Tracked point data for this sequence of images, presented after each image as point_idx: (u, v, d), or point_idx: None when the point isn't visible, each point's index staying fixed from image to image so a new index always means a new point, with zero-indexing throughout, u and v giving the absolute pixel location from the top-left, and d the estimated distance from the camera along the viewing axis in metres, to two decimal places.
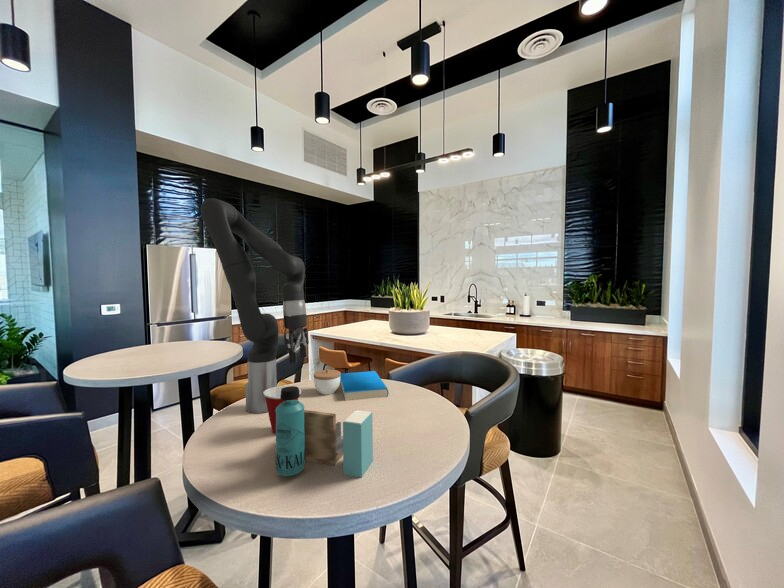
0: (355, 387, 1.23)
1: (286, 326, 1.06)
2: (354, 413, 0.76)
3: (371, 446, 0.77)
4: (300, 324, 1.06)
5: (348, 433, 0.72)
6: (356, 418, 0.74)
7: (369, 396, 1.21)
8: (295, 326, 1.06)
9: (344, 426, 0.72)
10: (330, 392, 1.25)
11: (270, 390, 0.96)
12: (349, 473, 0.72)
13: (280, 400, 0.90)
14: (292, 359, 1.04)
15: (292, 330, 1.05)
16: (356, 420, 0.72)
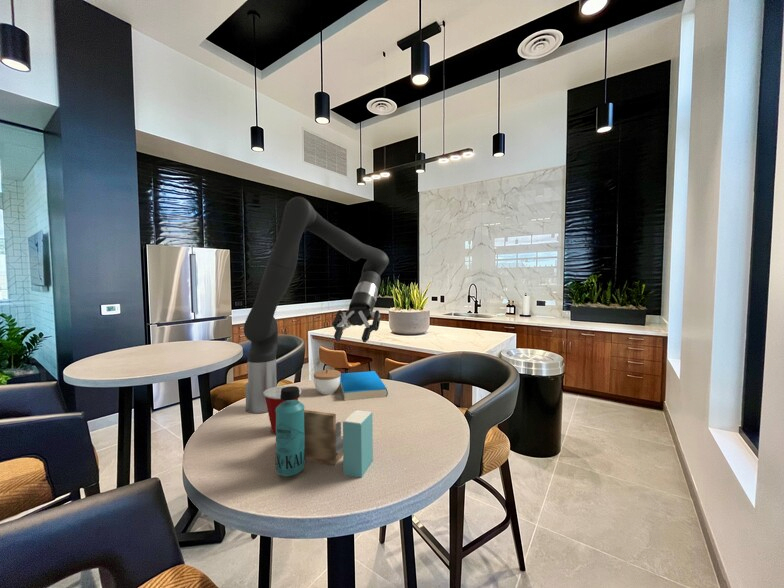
0: (354, 387, 1.23)
1: (369, 304, 0.98)
2: (354, 413, 0.76)
3: (371, 446, 0.77)
4: None
5: (348, 433, 0.72)
6: (356, 418, 0.74)
7: (368, 396, 1.21)
8: (372, 311, 1.00)
9: (344, 426, 0.72)
10: (330, 392, 1.25)
11: (270, 390, 0.96)
12: (349, 473, 0.72)
13: (280, 400, 0.90)
14: (368, 336, 0.92)
15: (371, 312, 0.98)
16: (356, 420, 0.72)
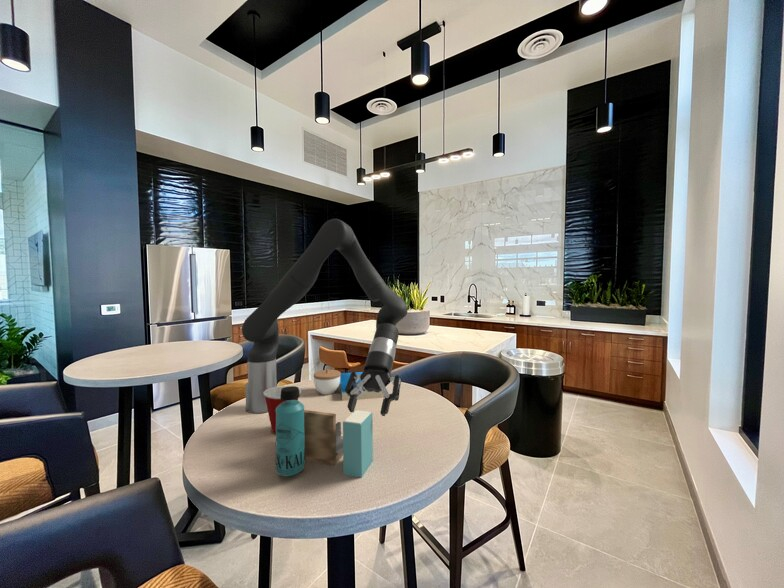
0: None
1: (387, 366, 0.85)
2: (354, 413, 0.76)
3: (371, 446, 0.77)
4: None
5: (348, 433, 0.72)
6: (356, 418, 0.74)
7: (366, 396, 1.20)
8: None
9: (344, 426, 0.72)
10: (330, 392, 1.25)
11: (270, 390, 0.96)
12: (349, 473, 0.72)
13: (280, 400, 0.90)
14: (388, 409, 0.79)
15: None
16: (356, 420, 0.72)
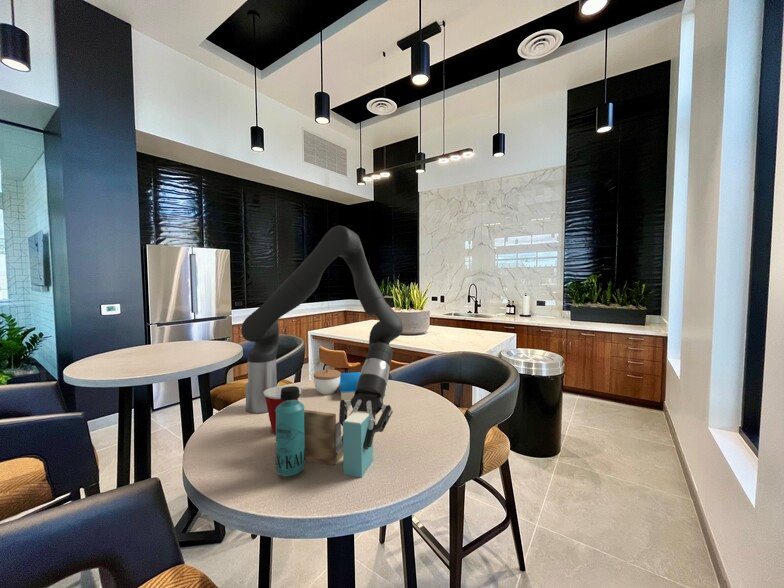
0: (352, 387, 1.23)
1: (379, 391, 0.79)
2: (354, 413, 0.76)
3: (371, 446, 0.77)
4: None
5: (348, 433, 0.72)
6: (356, 418, 0.74)
7: None
8: (383, 397, 0.82)
9: (344, 426, 0.72)
10: (330, 392, 1.25)
11: (270, 390, 0.96)
12: (349, 473, 0.72)
13: (280, 400, 0.90)
14: (371, 442, 0.73)
15: (382, 400, 0.80)
16: (356, 420, 0.72)
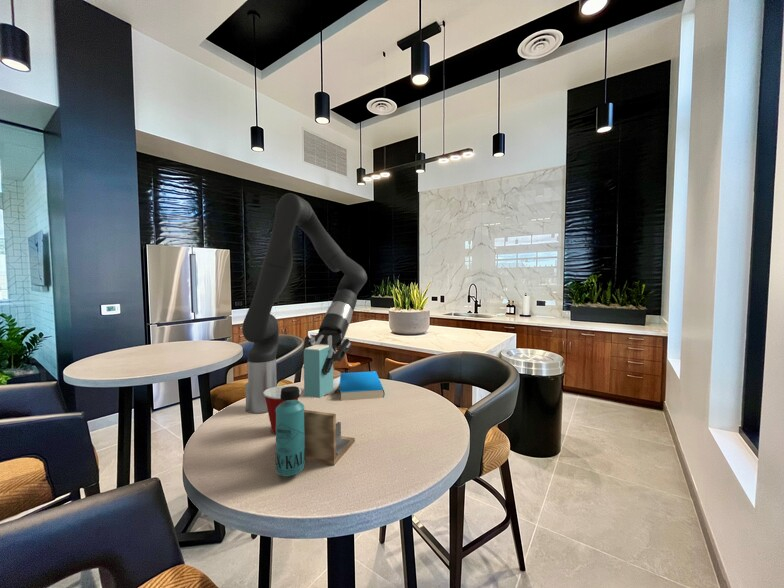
0: (351, 387, 1.23)
1: (340, 327, 0.88)
2: (316, 345, 0.85)
3: (331, 375, 0.86)
4: None
5: (308, 359, 0.80)
6: (316, 347, 0.82)
7: (365, 396, 1.20)
8: (344, 335, 0.90)
9: (305, 353, 0.81)
10: (330, 392, 1.25)
11: (270, 390, 0.96)
12: (309, 395, 0.81)
13: (280, 400, 0.90)
14: (329, 368, 0.82)
15: (343, 336, 0.89)
16: (316, 348, 0.81)
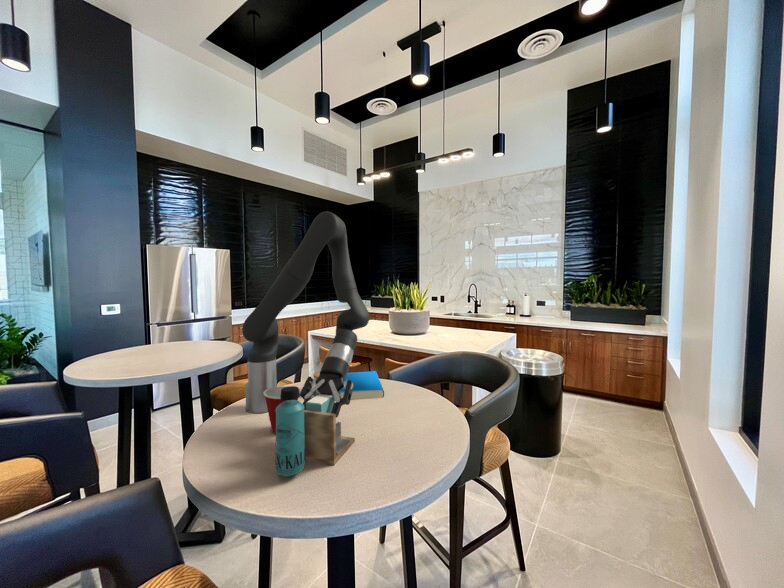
0: None
1: (341, 371, 0.89)
2: (318, 396, 0.86)
3: None
4: None
5: None
6: (318, 399, 0.83)
7: (364, 396, 1.20)
8: (345, 378, 0.91)
9: (307, 406, 0.81)
10: None
11: (270, 390, 0.96)
12: None
13: (280, 400, 0.90)
14: (338, 413, 0.82)
15: (344, 380, 0.89)
16: (318, 401, 0.82)
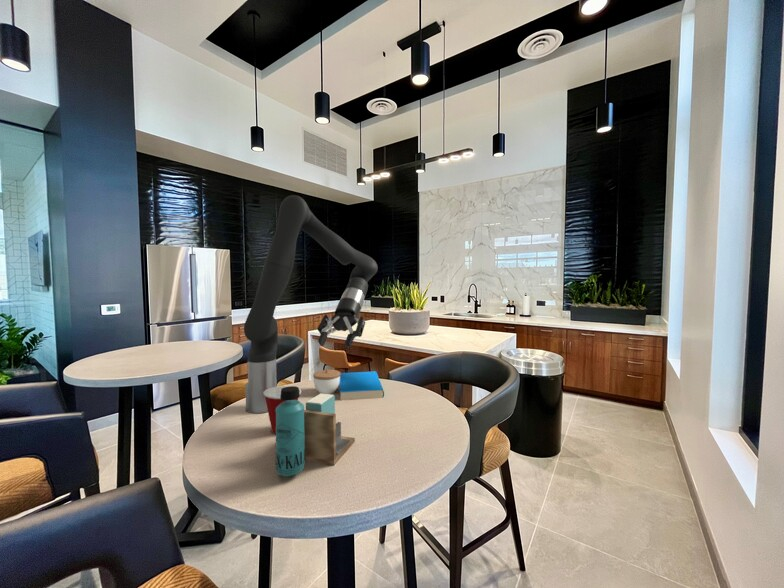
0: (351, 387, 1.23)
1: (354, 310, 1.00)
2: (318, 396, 0.86)
3: None
4: None
5: None
6: (318, 399, 0.83)
7: (364, 396, 1.20)
8: (357, 317, 1.02)
9: (307, 406, 0.81)
10: (330, 392, 1.25)
11: (270, 390, 0.96)
12: None
13: (280, 400, 0.90)
14: (351, 342, 0.93)
15: (356, 318, 1.00)
16: (318, 401, 0.82)
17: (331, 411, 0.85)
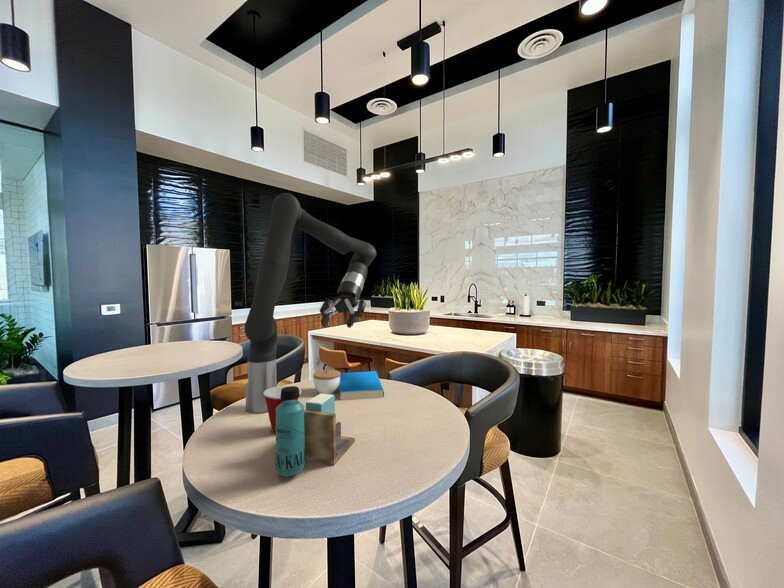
0: (351, 387, 1.23)
1: (354, 292, 1.03)
2: (318, 396, 0.86)
3: None
4: None
5: None
6: (318, 399, 0.83)
7: (364, 396, 1.20)
8: (358, 299, 1.06)
9: (307, 406, 0.81)
10: (330, 392, 1.25)
11: (270, 390, 0.96)
12: None
13: (280, 400, 0.90)
14: (353, 322, 0.97)
15: (357, 300, 1.04)
16: (318, 401, 0.82)
17: (331, 411, 0.85)
